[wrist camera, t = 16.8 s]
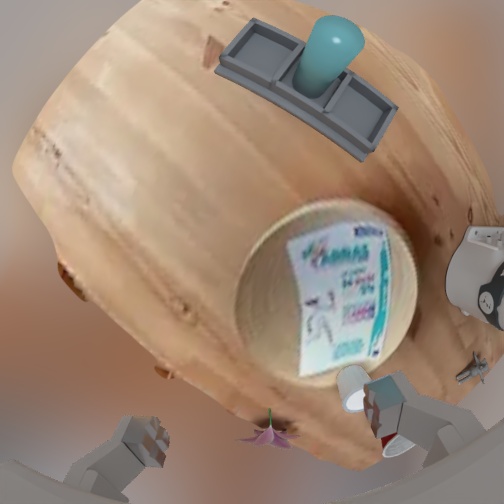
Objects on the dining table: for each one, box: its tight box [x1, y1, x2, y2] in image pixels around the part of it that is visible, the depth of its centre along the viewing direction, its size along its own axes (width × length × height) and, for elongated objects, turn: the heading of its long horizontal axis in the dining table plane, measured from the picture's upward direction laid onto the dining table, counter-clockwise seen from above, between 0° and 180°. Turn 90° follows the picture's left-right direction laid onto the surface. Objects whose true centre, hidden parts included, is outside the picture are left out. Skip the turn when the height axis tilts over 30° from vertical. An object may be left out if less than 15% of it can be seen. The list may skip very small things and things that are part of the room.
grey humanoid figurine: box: [457, 352, 489, 385], centre depth 44 cm, size 10×6×9 cm
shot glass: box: [337, 365, 372, 413], centre depth 42 cm, size 7×7×7 cm
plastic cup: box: [381, 432, 415, 457], centre depth 42 cm, size 11×11×12 cm
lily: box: [236, 408, 303, 449], centre depth 44 cm, size 12×12×10 cm
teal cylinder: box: [292, 15, 365, 99], centre depth 25 cm, size 5×5×15 cm
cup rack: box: [214, 18, 399, 162], centre depth 31 cm, size 25×11×4 cm, turn 58°
